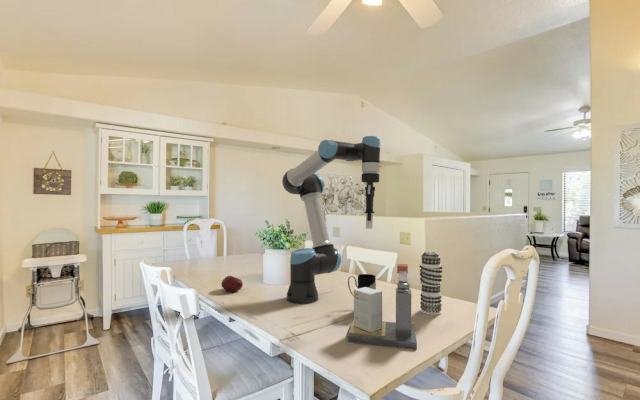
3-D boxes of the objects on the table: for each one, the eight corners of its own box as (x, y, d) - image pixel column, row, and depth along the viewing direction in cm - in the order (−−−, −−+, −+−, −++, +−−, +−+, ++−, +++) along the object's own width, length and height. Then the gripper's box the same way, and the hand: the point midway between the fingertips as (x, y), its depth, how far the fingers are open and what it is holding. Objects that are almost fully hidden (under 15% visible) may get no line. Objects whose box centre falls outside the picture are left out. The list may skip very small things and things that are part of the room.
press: (347, 342, 107) (347, 293, 107) (353, 324, 123) (354, 282, 123) (416, 349, 102) (416, 298, 102) (414, 329, 118) (414, 285, 118)
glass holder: (369, 316, 131) (369, 279, 131) (342, 308, 141) (342, 274, 141) (380, 311, 137) (381, 275, 138) (354, 303, 147) (354, 271, 147)
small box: (382, 328, 112) (382, 291, 113) (370, 333, 108) (370, 294, 109) (365, 321, 119) (365, 286, 119) (353, 326, 115) (353, 289, 115)
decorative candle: (439, 316, 131) (440, 255, 131) (416, 312, 136) (417, 253, 136) (444, 310, 139) (444, 252, 139) (422, 306, 144) (422, 250, 144)
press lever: (397, 290, 110) (397, 280, 110) (397, 272, 131) (397, 263, 131) (409, 291, 109) (409, 281, 109) (407, 272, 130) (407, 264, 130)
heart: (226, 294, 159) (243, 293, 166) (227, 278, 160) (245, 277, 167) (215, 289, 168) (232, 288, 175) (217, 274, 169) (234, 274, 176)
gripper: (378, 172, 130) (377, 230, 131) (380, 174, 143) (378, 227, 143) (360, 172, 132) (358, 229, 132) (363, 174, 145) (361, 226, 145)
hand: (369, 228), depth 138 cm, fingers closed
